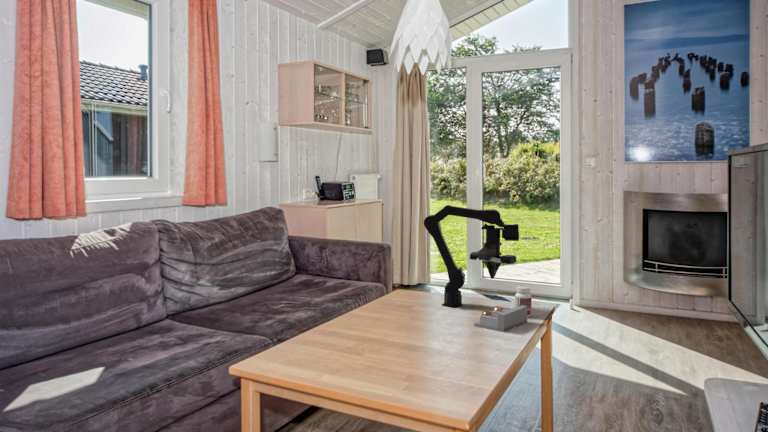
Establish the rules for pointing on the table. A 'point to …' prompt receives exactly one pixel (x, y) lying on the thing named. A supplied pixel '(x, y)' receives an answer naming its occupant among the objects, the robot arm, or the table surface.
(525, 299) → the pill bottle
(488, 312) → the knob near
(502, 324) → the mount
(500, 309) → the knob far
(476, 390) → the table surface
